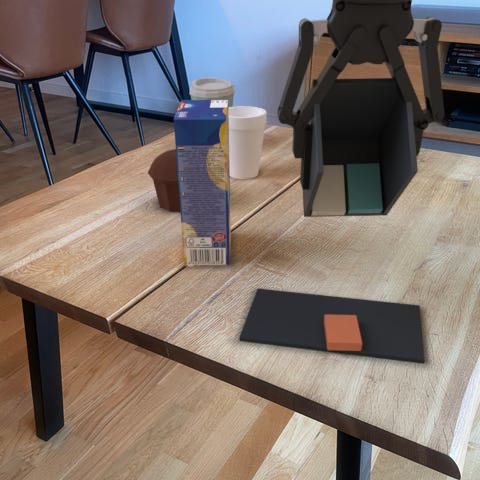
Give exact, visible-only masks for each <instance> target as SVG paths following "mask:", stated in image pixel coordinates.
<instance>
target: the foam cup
mask: <svg viewBox="0 0 480 480" xmlns="http://www.w3.org/2000/svg"><path fill="white" fill-rule="evenodd" d="M267 112H268V111H266V110H265V109H264V108H261V107H258V106H251V105H250V106H249V105H243V106H238V105H237V106H233V107H229V108H228V119H229V168H230V178H233V179H236V180H248V179H254V178H256V177H257V176H258V175H259V173H260V164H261V158H262V150H263V145H264V137H265V130H266V125H267V114H268V113H267Z"/></svg>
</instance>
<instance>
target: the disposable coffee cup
mask: <svg viewBox="0 0 480 480" xmlns="http://www.w3.org/2000/svg"><path fill="white" fill-rule="evenodd" d="M235 92H236V89H235V86H234V84H233V82H232V81H229V80H228V79H225V78H220V77H209V76H208V77H207V76H206V77H201V78H200V77H199V78H196V79H194V80H191V85H190V87H189V95H190V96H191V100H228V108H229V107H234V106H233V105H234V96H235Z"/></svg>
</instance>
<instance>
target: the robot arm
mask: <svg viewBox="0 0 480 480" xmlns="http://www.w3.org/2000/svg"><path fill="white" fill-rule="evenodd" d="M412 3H413V0H332V4H331V9H330V12H329V14H328V16H327V17H326V19H315V20H310V19H308V18H302V19H301V20H300V21H299V23H298V45H297V48H296V51H295V55H294V58H293V61H292V64H291V66H290V70H289V74H288V77H287V79H286V81H285V85H284V89H283V92H282V95H281V99H280V101H279V104H278V108H277V110H276V114H277V118H278V122H279V123H280V124H282V125H287V126H290V127H292V146H291V147H292V148H291V150H292V153H293V154H292V155H293V156H294V159H300V176H299V182H300V185H301V186H300V187H301V188H302V191H303V190H309V184H310V168H311V152H312V135H313V130H312V128H311V126H310V124H308V123H309V121H310V120H311V118H312V117H313V115H314V104H321V102H322V101H323V99H324V98H325V96H326V94H327V93H328V91H329V90H330V88H331V87H332V85H333V83H334V82H335V80H336V79H338V77H339V75H340V74H342V72H343V71H344V70H345V68H346V67H347V65H348V64H351V66H353V65H355V66H357V65H362V64H366V63H368V64H372V65H383V64H385V66H386V68H387V70H388V73H389V74H390V78H393V80H394V82H395V84H396V89H397V91H398V94H399V96H400V98H401V99H402V100H403V101H404V102H405V103H406V102H412V110H413V121H414V133H415V144H416V156H417V157H418V156H419V155H420V152H421V146H422V141H423V136H424V131H425V130H426V129H428V127H429V124H433V123H434V122H436V123H439V122H442V121H443V120H444V119H445V108H444V105H445V104H444V96H443V95H444V94H443V87H442V76H441V75H442V74H441V66H440V55H439V48H438V46H439V41H440V37H441V32H442V27H443V24H442V21H441V20H439V19H437V18H435V17H431V16H427V17H426V18H414V17H413V14H412V13H413V12H412ZM411 32H412V33H413V38H414V41H416V42H417V43H418V55H419V64H420V71H421V79H422V88H423V98H424V105H425V108H422V106H421V103H420V101H419V98H418V96H417V93H416V90H415V88H414V85H413V83H412V81H411V78H410V76H409V73H408V70H407V69H406V67H405V66H406V65H405V61H404V59H403V56H402V53H401V51H400V47H401V45H402V44H403V43H404V41H405V40H406V39H407V37H408V36H409V34H411ZM325 33H327V34H328V36H329V38H330V39H331V41H332V43H333V44H334V47H333V49H332V51H331V53H330V55H329V56H328V58H327V60H326V63H325V64H324V66H323V68H322V70H321V71H320V73H318V76H317V77H316V79H317V81H316V84H315V86H314V88H313V87H310V89H309V91H308V92H307V94H306V96H305V97H304V98H303V100H302V102H301V103H300V105H299V107H298V108H297V111H294V108H295V105H296V104H297V103H296V102H297V100H298V96H299V94H300V92H301V88H302V85H303V82H304V80H305V76H306V73H307V70H308V66H309V64H310V61H311V58H312V56H313V51H314V46H315V45H318V44H319V43H320V41H321V38H322V36H323V35H324V34H325Z"/></svg>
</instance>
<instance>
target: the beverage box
mask: <svg viewBox="0 0 480 480" xmlns="http://www.w3.org/2000/svg"><path fill="white" fill-rule="evenodd" d="M173 129H174V131H173V132H174V142H175V143H174V144H175V149H176V158H177V171H178V185H179V198H180V212H179V213H180V223H181V224H180V225H181V237H182V251H183V265H184V268H185V267H190V268H191V267H192V268H193V267H194V266H204V265H205V266H217V265H218V266H221V265H222V266H225V265H226V266H227V265H228V266H229V265H230V260H231V239H232V229H231V228H232V226H231V225H232V224H231V222H232V221H231V179H230V178H231V177H230V168H229V119H228V100H192V99H181V100H180V103H179V105H178V107H177V110H176V112H175V115H174V117H173Z"/></svg>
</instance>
